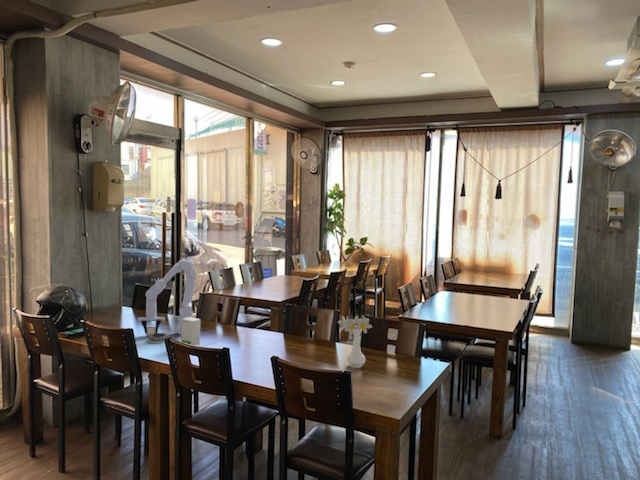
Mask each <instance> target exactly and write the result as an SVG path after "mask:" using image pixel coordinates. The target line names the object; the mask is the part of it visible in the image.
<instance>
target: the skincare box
mask: <svg viewBox="0 0 640 480" xmlns="http://www.w3.org/2000/svg"><path fill="white" fill-rule="evenodd" d="M200 340H201V319H200V318H196V317H192V316H191V317H187V318H183V319H182V325H181V334H180V343H181V342H183V343H187V344H191V345H199V347H200V344H201V343H200Z"/></svg>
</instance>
